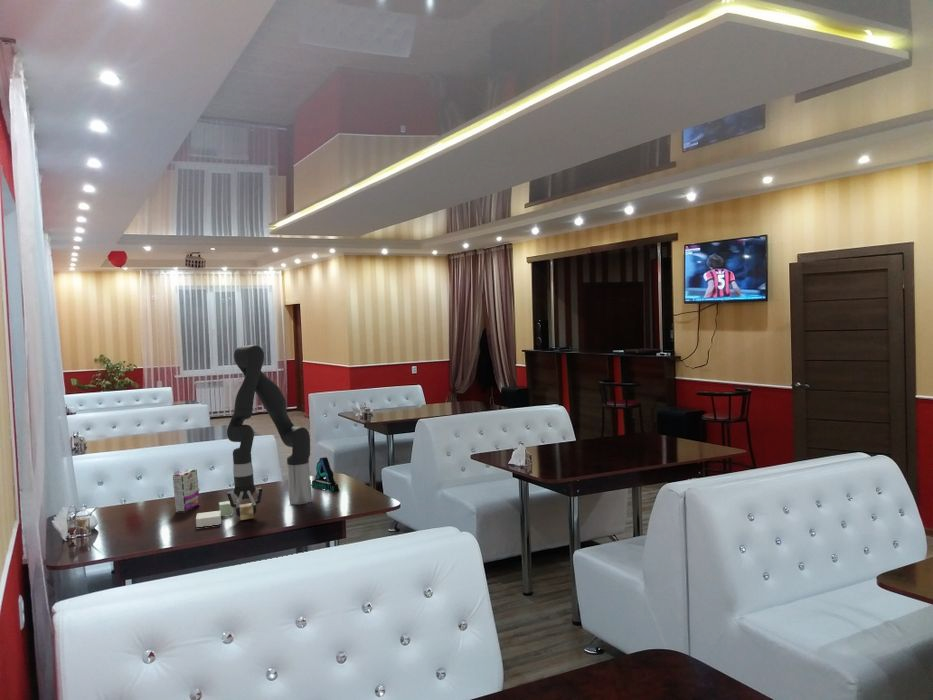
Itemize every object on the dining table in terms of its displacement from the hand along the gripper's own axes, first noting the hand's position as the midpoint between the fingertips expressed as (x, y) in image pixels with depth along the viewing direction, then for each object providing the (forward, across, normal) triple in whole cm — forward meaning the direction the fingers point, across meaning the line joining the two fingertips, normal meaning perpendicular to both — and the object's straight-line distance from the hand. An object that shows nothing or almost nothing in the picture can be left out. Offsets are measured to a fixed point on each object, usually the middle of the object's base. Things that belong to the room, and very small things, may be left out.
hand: (246, 515), depth 285 cm
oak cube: (+1, 0, 0) cm, 1 cm away
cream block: (+2, +14, -2) cm, 15 cm away
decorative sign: (+3, -38, -34) cm, 51 cm away
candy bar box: (+2, +22, -32) cm, 39 cm away
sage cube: (+2, +7, -13) cm, 15 cm away
